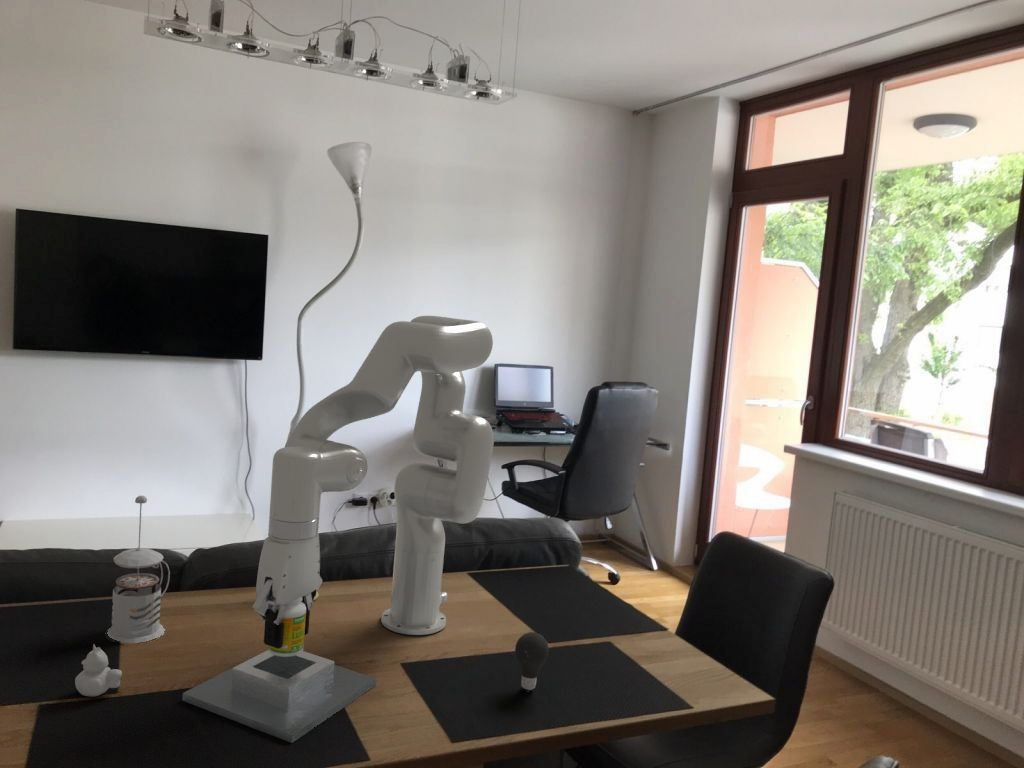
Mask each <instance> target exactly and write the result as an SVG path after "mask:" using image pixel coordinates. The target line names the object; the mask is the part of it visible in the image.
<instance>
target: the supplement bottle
mask: <svg viewBox="0 0 1024 768" xmlns="http://www.w3.org/2000/svg"><path fill="white" fill-rule="evenodd" d="M301 601H302V597H299V598H298V599H296V600H294V601H292V602H290V603H287V604H286V605H285V609H284V613H283V616H282V620H281V622H282V623H284V630H283V645H282V647H281V648H279V649H278V648H275V647H272V646H269V645H267V647H268V649H267V650H269V652H270V653H271V654H273V655H275V656H280V657H290V656H295V655H298V654H300V653H301V652H302V651H304V647H305V635H304V634H305V620H306V606H305V604H304V603H303V602H301ZM276 610H277V606H274V605H273V608H272V611H273V612H274V613H275V614H276Z"/></svg>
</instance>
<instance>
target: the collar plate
mask: <svg viewBox="0 0 1024 768" xmlns="http://www.w3.org/2000/svg"><path fill="white" fill-rule="evenodd" d="M374 686H375V687H376V686H377V678H376V677H372V676H369V675H366V674H363V673H360V672H358V671H354V670H351V669H348V668H345V667H343V666H339V665H336V664H335V661H334V660H331V659H329V658H325V657H323V656H319V655H317V654H313V653H310V652H308V651H304V650H303V651H302V652H301V653H300V654H298V655H295V656H290V657H280V656H275V655H273V654H271V653H270V652H269V650H268V649H266V650H264V651H263V652H261V653H259V654H257V655H255V656H252V657H251V658H248V659H247V660H245V661H243V662H241V663H239V664H236V665H235V666H233V667H231V668H229V669H227V670H225V671H223V672H222V673H220V674H218V675H216V676H214V677H213V676H212V677H211V678H209V679H207V680H206V681H204V682H203V683H200V684H198V685H196V686H194V687H192V688H189V689H188V690H186V691H184V692H183V693H182V702H184V703H187V704H190V705H193V706H195V707H198V708H201V709H202V710H203V709H204V710H205V711H208V712H210V713H213V714H216V715H219V716H222V717H224V718H226V719H229V720H231V721H233V722H237V723H239V724H242V725H244V726H247V727H249V728H252V729H255V730H258V731H259V732H262V733H265V734H268V735H270V736H272V737H275V738H278V739H281V740H283V741H286V742H288V743H291V744H292V743H294V742H296V741H297V740H299V739H300V738H301V737H303V736H304V735H306V734H307V733H309V732H310V731H312V730H313V729H315V728H316V727H318V726H319V725H321V724H322V723H323V722H325V721H326V720H327V718H328V719H330V718H331V717H332V716H334V715H335V714H337V713H338V712H340V711H341V710H342V709H344V708H345V707H347V706H348V705H350V704H351V703H352V701H353V702H354V701H356V700H357V699H359V698H361V696H363V695H364V694H366V693H367V692H369V691H370V690H372V689H373V688H375V687H374ZM371 688H372V689H371ZM368 690H369V691H368ZM365 692H366V693H365ZM355 699H356V700H355ZM350 702H351V703H350ZM349 703H350V704H349ZM336 712H337V713H336ZM333 714H334V715H333ZM317 725H318V726H317ZM314 727H315V728H314Z"/></svg>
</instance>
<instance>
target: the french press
mask: <svg viewBox="0 0 1024 768" xmlns="http://www.w3.org/2000/svg"><path fill="white" fill-rule="evenodd" d="M134 502H135V503H136V504H139V507H140V508H139V527H138V529H139V531H138V547H136V548H130V549H126V550H122V551H121V552H120V553H118V554H117V555H115V556H114V557H113V562H114V564H115V565H116V566H118V567H121V568H126V569H137V573H134V572H133V573H129V574H124V575H122V576H119V577H117V578H116V580H115V584H116V585H115V586H114V587H113V589H112V601H111V602H112V606H111V607H112V608H111V610H112V612H111V627H110V628H108V629H107V631H108V632H107V631H106V632H107V634H108V636H109V637H110V638H112V639H114V640H117V641H121V642H126V643H127V642H129V643H131V642H132V643H139V642H146V641H149V640H152V639H155V638H158V637H159V638H160V636H161V635H162V636H164V634H165V632H164V631H166V628H163V627H164V625H162V624H161V623H160V621H161V618H160V617H161V599H162V597H163V596H164V595H165V593H166V591H167V590H168V587H169V584H170V579H171V578H170V577H171V576H170V575H171V571H170V568H169V565H168V563H167V562H166V561H164V560H163V559H164V558H165V557H164V556H163V554H162V553H160V552H159V551H156V550H155V549H154V550H153V549H151V548H146V547H145V548H144V547H141V531H142V530H141V528H142V527H141V526H142V504H146V503H147V502H148V499H147V497H146V496H145V495H138V496H137V497H136V498H135V501H134ZM162 563H163V564H164V565H165V567H166V568H167V572H168V574H167V582H166V586H165V589H164V590H163V592H162V586H161V585H162V582H163V577H164V572H163V571H164V569H163V566H162ZM159 566H160V572H161V573H160V574H161V575H160V577H159V576H157V575H155V574H153V573H147V572H145V573H144V572H141V573H140V569H143V568H144V569H145V568H151V567H152V569H153V568H154V569H158V568H159ZM154 586H155V587H154ZM153 587H154V592H152V591H153ZM124 589H125V591H123V592H121V591H122V590H124ZM134 590H137V591H134ZM119 592H121V593H119ZM153 601H154V603H153ZM131 609H133V610H136V612H135V611H131ZM152 616H153V617H152ZM151 617H152V618H151ZM162 636H161V637H162ZM159 638H158V639H159Z"/></svg>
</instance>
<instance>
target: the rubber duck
mask: <svg viewBox="0 0 1024 768" xmlns="http://www.w3.org/2000/svg"><path fill="white" fill-rule="evenodd" d="M81 665H83V666H82V669H83V670H82V671H81V672H80V673H78V675H76V677H75V679H74V684H75V688H76V690H77V691H78V693H79V694H80V695H82V696H85V697H98V696H101V695H103V694H104V693H106V692H107V691H108V690H109V689H116V688H118V687H119V686H120V685H121V678H122V676H123V672H122V670H121V669H117V668H116V669H115V668H112V669H111V667H109V658H108V655H107V654H106V652H104V651H103V650H102V649H101V647H100V646H97V647H96V645H95V643H93V646H92V650H91V651H89V652H88V653H87V655H86V657H85V659H83V660H82V661H81Z"/></svg>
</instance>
